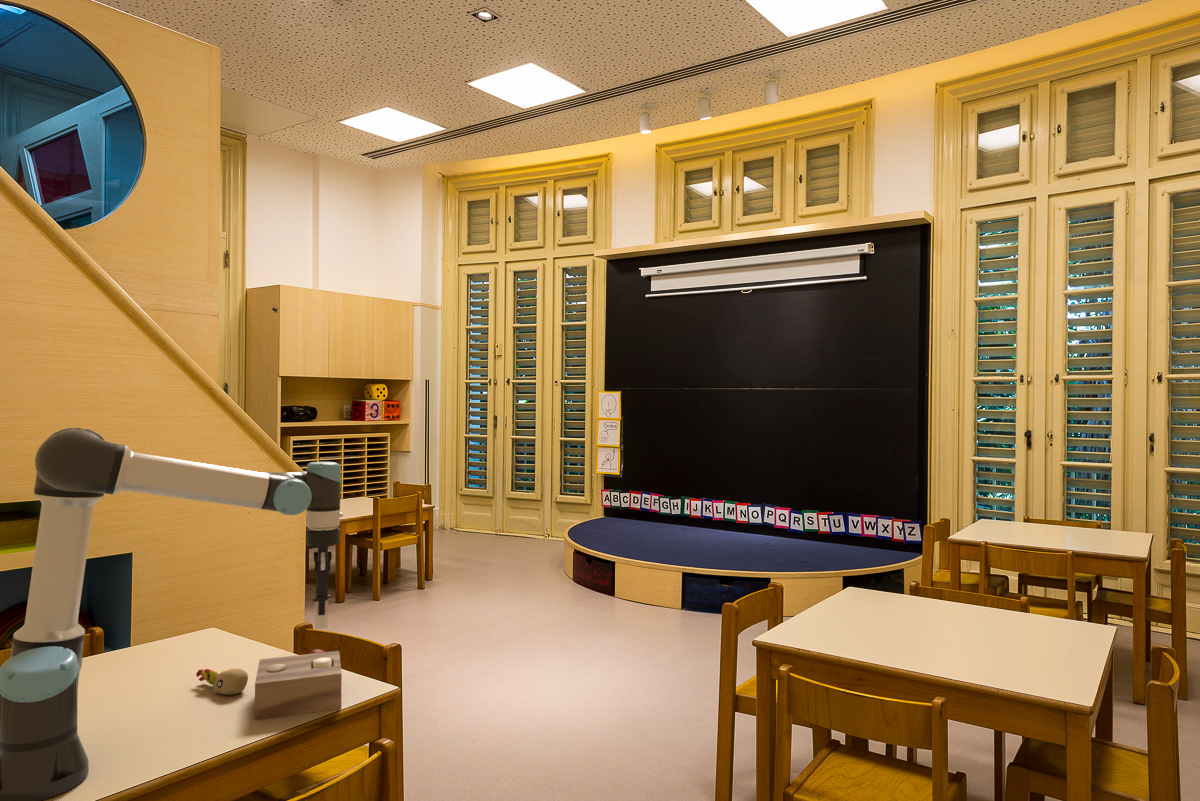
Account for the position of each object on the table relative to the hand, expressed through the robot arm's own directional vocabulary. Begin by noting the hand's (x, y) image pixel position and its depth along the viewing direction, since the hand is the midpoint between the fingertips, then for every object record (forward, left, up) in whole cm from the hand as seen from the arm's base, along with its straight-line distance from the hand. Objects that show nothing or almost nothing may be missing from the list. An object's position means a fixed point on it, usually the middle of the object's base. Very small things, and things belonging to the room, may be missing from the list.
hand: (321, 627), depth 177 cm
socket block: (0, +5, -17) cm, 17 cm away
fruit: (+19, 0, -17) cm, 26 cm away
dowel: (0, 0, -16) cm, 16 cm away
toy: (+13, +23, -17) cm, 31 cm away
